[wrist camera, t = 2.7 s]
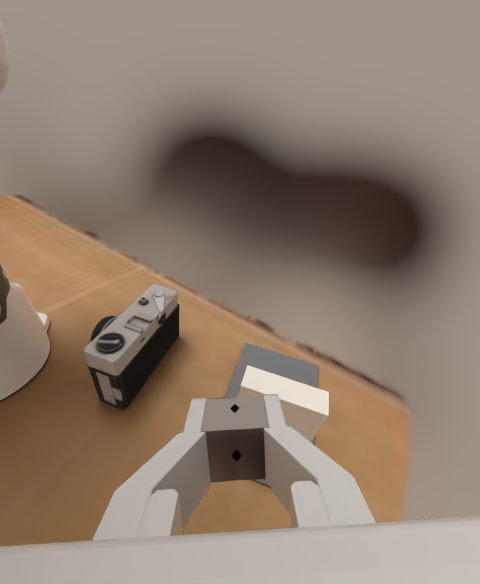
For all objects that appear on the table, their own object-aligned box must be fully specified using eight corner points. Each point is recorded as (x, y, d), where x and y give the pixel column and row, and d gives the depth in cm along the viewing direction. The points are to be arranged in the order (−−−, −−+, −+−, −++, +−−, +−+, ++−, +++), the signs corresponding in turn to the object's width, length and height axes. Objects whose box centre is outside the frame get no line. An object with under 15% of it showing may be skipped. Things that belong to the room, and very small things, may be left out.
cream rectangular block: (227, 439, 30) (240, 385, 24) (234, 419, 32) (247, 363, 26) (295, 465, 29) (328, 415, 22) (297, 442, 31) (328, 390, 24)
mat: (202, 460, 29) (202, 458, 28) (245, 344, 43) (245, 342, 43) (309, 502, 27) (311, 501, 27) (317, 367, 41) (318, 365, 41)
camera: (143, 318, 44) (139, 269, 38) (188, 341, 42) (191, 294, 36) (67, 379, 34) (45, 327, 28) (122, 415, 32) (111, 366, 25)
